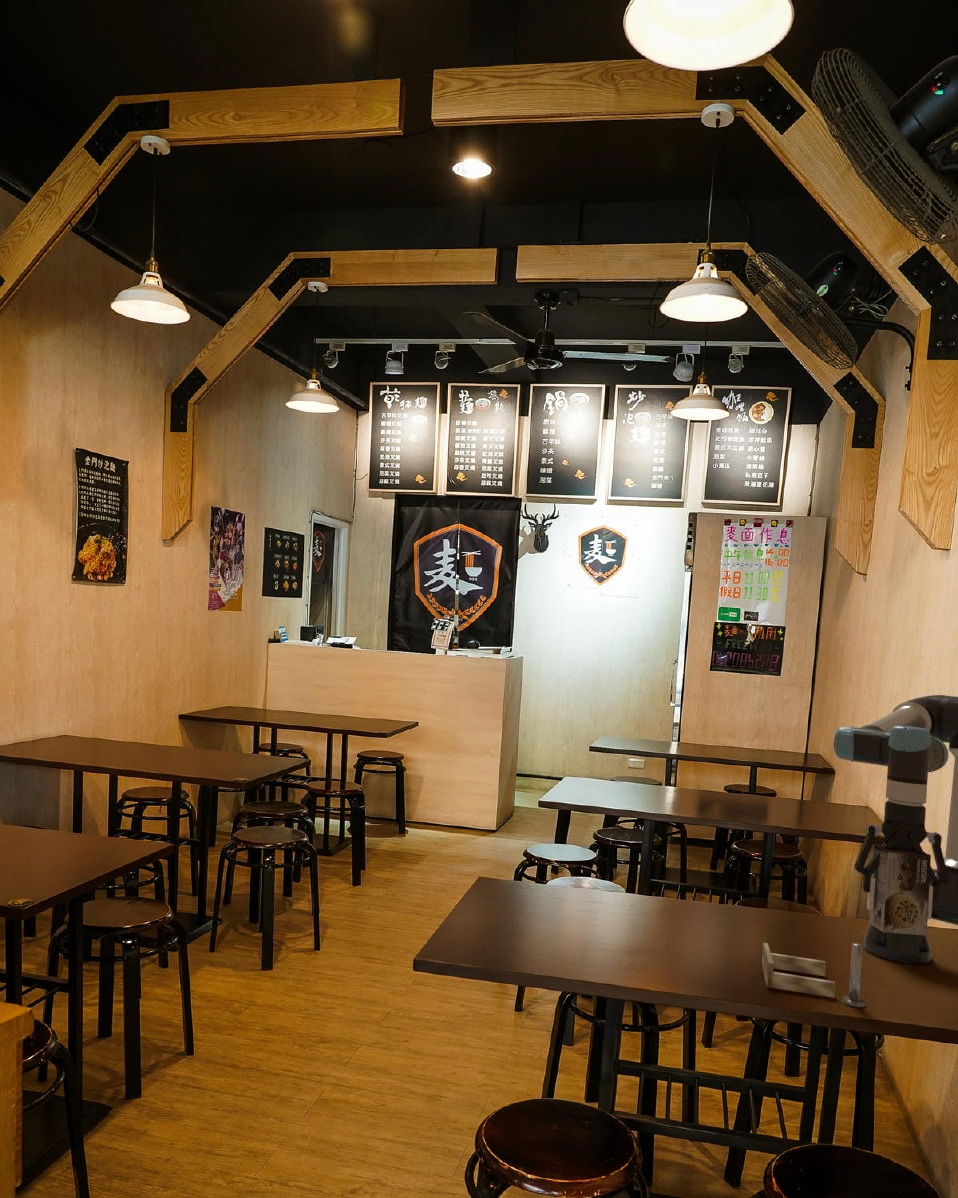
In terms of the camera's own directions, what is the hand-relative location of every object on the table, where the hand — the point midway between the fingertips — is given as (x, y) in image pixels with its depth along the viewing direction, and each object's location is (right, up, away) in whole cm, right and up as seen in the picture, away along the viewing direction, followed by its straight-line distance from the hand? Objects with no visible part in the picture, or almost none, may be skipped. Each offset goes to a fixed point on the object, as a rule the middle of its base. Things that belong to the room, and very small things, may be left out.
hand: (898, 913), depth 181 cm
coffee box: (0, -3, 0) cm, 4 cm away
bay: (-15, -20, +14) cm, 29 cm away
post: (-8, -20, +4) cm, 22 cm away
